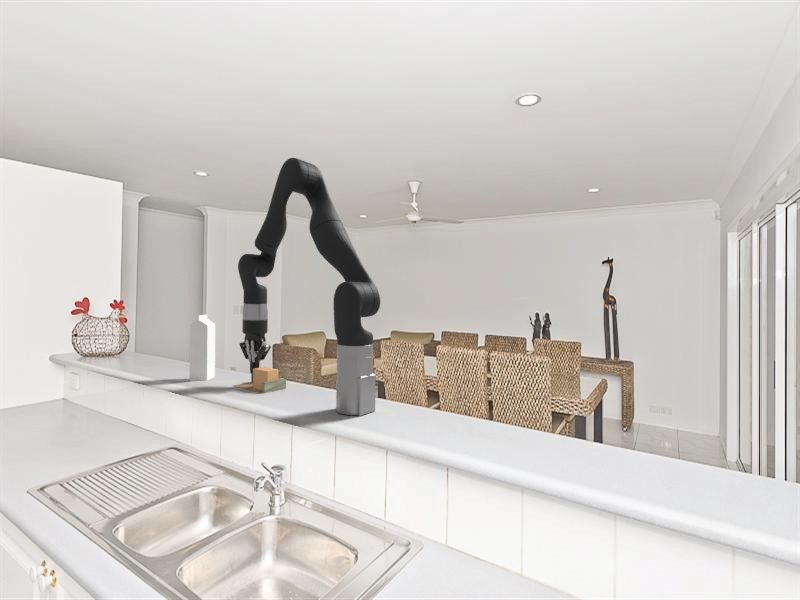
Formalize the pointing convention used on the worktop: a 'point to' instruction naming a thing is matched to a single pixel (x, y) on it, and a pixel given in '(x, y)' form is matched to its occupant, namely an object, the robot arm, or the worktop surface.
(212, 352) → the milk
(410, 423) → the worktop surface
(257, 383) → the block
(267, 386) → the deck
